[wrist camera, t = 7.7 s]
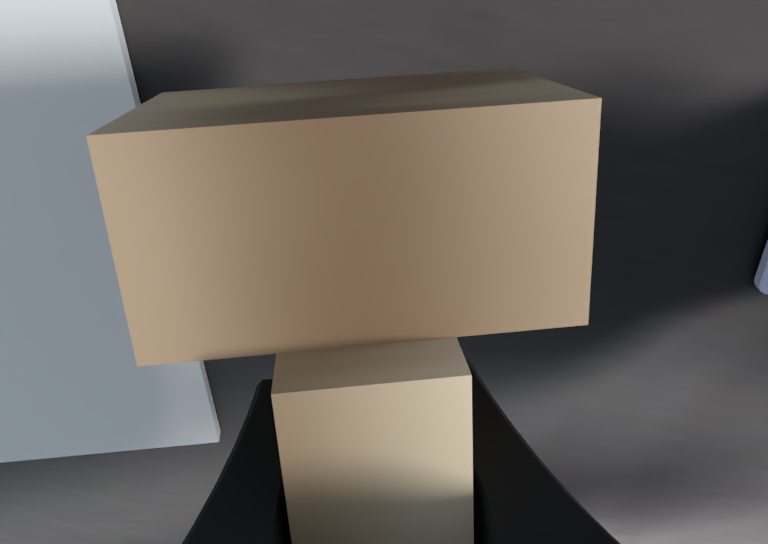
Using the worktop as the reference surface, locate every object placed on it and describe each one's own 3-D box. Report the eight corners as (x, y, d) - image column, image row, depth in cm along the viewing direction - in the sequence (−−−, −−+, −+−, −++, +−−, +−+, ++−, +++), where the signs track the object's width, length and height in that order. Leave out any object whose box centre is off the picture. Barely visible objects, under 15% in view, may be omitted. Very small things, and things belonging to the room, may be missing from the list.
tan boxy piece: (513, 68, 12) (638, 110, 7) (506, 634, 17) (577, 875, 12) (162, 92, 11) (54, 154, 7) (262, 664, 16) (239, 922, 12)
